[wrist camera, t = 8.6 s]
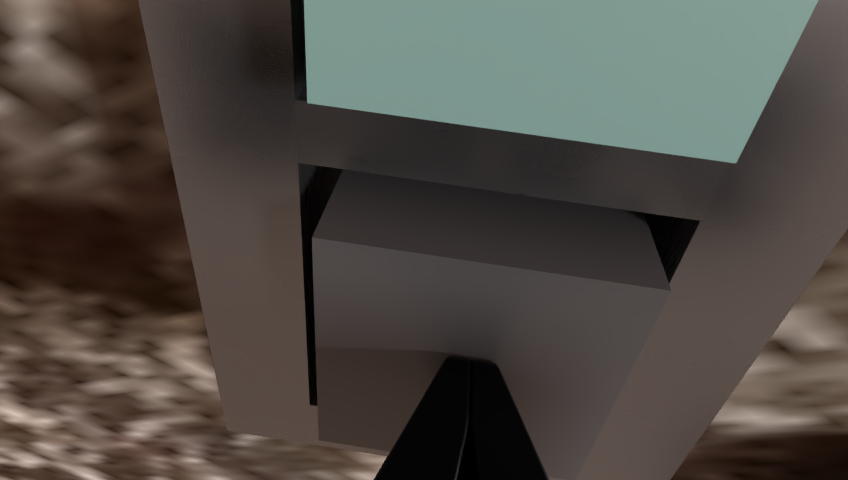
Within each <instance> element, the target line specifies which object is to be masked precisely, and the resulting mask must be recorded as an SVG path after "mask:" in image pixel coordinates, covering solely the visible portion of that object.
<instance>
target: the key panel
mask: <svg viewBox="0 0 848 480" xmlns="http://www.w3.org/2000/svg"><path fill="white" fill-rule="evenodd" d="M138 2H139V7H140V12H141V17H142V22H143V26H144V31H145V36H146V41H147V46H148V51H149V55H150V60H151V65H152V70H153V75H154V80H155V84H156V89H157V94H158V99H159V104H160V108H161V113H162V118H163V123H164V128H165V133H166V137H167V142H168V147H169V152H170V157H171V162H172V166H173V171H174V176H175V181H176V186H177V190H178V195H179V200H180V205H181V210H182V215H183V219H184V224H185V229H186V234H187V239H188V244H189V248H190V253H191V258H192V263H193V268H194V272H195V277H196V282H197V287H198V292H199V297H200V301H201V306H202V311H203V316H204V321H205V325H206V330H207V335H208V340H209V345H210V350H211V354H212V359H213V364H214V369H215V374H216V379H217V383H218V388H219V393H220V398H221V403H222V407H223V412H224V417H225V422H226V427H227V431H233V432H240V433H246V434H252V435H258V436H265V437H271V438H277V439H283V440H290V441H296V442H302V443H308V444H315V445H321V446H327V447H333V448H340V449H346V450H352V451H358V452H364V453H371V454H377V455H383V456H388V455H389V453H390V452H388V451H382V450H376V449H369V448H363V447H357V446H351V445H344V444H338V443H332V442H326V441H319V436H318V406H317V377H316V347H315V317H314V288H313V258H312V236H313V234H314V232H315V229H316V227H317V225H318V223H319V221H320V219H321V216H322V214H323V212H324V210H325V208H326V205H327V203H328V201H329V199H330V197H331V194H332V192H333V190H334V188H335V186H336V184H337V181H338V179H339V177H340V175H341V173H342V170H343V169H345V170H352V171H359V172H366V173H373V174H380V175H387V176H394V177H401V178H408V179H414V180H421V181H428V182H435V183H442V184H449V185H456V186H463V187H470V188H477V189H484V190H491V191H498V192H505V193H511V194H518V195H525V196H532V197H539V198H546V199H553V200H560V201H567V202H574V203H581V204H588V205H595V206H602V207H608V208H615V209H622V210H629V211H636V212H643V213H644V215H645V217H646V220H647V223H648V226H649V229H650V232H651V234H652V237H653V240H654V243H655V246H656V248H657V251H658V254H659V257H660V260H661V263H662V265H663V268H664V271H665V274H666V277H667V279H668V282H669V285H670V288H671V293H670V295H669V297H668V299H667V301H666V303H665V305H664V307H663V309H662V311H661V313H660V315H659V317H658V319H657V321H656V323H655V325H654V327H653V329H652V331H651V333H650V335H649V337H648V338H647V340H646V342H645V344H644V346H643V348H642V350H641V352H640V354H639V356H638V358H637V360H636V362H635V364H634V366H633V368H632V370H631V372H630V374H629V376H628V378H627V380H626V382H625V384H624V386H623V388H622V390H621V392H620V394H619V396H618V398H617V400H616V402H615V404H614V406H613V408H612V410H611V412H610V414H609V416H608V418H607V420H606V422H605V424H604V425H603V427H602V429H601V431H600V433H599V435H598V437H597V439H596V441H595V443H594V445H593V447H592V449H591V451H590V453H589V455H588V457H587V459H586V461H585V463H584V465H583V467H582V469H581V471H580V473H579V475H578V477H577V479H576V480H671V478H672V477H673V476H674V474H675V473H676V471H677V470H678V468H679V467H680V466H681V464H682V463H683V461H684V460H685V459H686V457H687V456H688V454H689V453H690V451H691V450H692V449H693V447H694V446H695V444H696V443H697V441H698V440H699V439H700V437H701V436H702V434H703V433H704V432H705V430H706V429H707V427H708V426H709V424H710V423H711V422H712V420H713V419H714V417H715V416H716V415H717V413H718V412H719V410H720V409H721V407H722V406H723V405H724V403H725V402H726V400H727V399H728V397H729V396H730V395H731V393H732V392H733V390H734V389H735V388H736V386H737V385H738V383H739V382H740V380H741V379H742V378H743V376H744V375H745V373H746V372H747V371H748V369H749V368H750V366H751V365H752V363H753V362H754V361H755V359H756V358H757V356H758V355H759V353H760V352H761V351H762V349H763V348H764V346H765V345H766V344H767V342H768V341H769V339H770V338H771V336H772V335H773V334H774V332H775V331H776V329H777V328H778V327H779V325H780V324H781V322H782V321H783V319H784V318H785V317H786V315H787V314H788V312H789V311H790V310H791V308H792V307H793V305H794V304H795V302H796V301H797V300H798V298H799V297H800V295H801V294H802V292H803V291H804V290H805V288H806V287H807V285H808V284H809V283H810V281H811V280H812V278H813V277H814V275H815V274H816V273H817V271H818V270H819V268H820V267H821V266H822V264H823V263H824V261H825V260H826V258H827V257H828V256H829V254H830V253H831V251H832V250H833V248H834V247H835V246H836V244H837V243H838V241H839V240H840V239H841V237H842V236H843V234H844V233H845V231H846V230H847V229H848V0H818V2H817V4H816V6H815V8H814V10H813V12H812V14H811V16H810V18H809V20H808V22H807V24H806V26H805V28H804V30H803V32H802V34H801V36H800V38H799V40H798V42H797V44H796V46H795V48H794V50H793V52H792V54H791V56H790V58H789V60H788V62H787V64H786V66H785V68H784V70H783V72H782V74H781V76H780V77H779V79H778V81H777V83H776V85H775V87H774V89H773V91H772V93H771V95H770V97H769V99H768V101H767V103H766V105H765V107H764V109H763V111H762V113H761V115H760V117H759V119H758V121H757V123H756V125H755V127H754V129H753V131H752V133H751V135H750V137H749V139H748V141H747V143H746V145H745V147H744V149H743V151H742V153H741V155H740V157H739V159H738V161H737V163H729V162H722V161H715V160H708V159H701V158H693V157H686V156H679V155H672V154H665V153H658V152H651V151H644V150H637V149H630V148H623V147H615V146H608V145H601V144H594V143H587V142H580V141H573V140H566V139H559V138H552V137H544V136H537V135H530V134H523V133H516V132H509V131H502V130H495V129H488V128H481V127H473V126H466V125H459V124H452V123H445V122H438V121H431V120H424V119H417V118H410V117H402V116H395V115H388V114H381V113H374V112H367V111H360V110H353V109H346V108H339V107H331V106H324V105H317V104H310V103H307V79H306V50H305V20H304V0H138ZM548 478H549V480H563V479H557V478H551V477H548Z"/></svg>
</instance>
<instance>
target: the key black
mask: <svg viewBox="0 0 848 480" xmlns="http://www.w3.org/2000/svg"><path fill="white" fill-rule="evenodd" d="M312 258H313V288H314V317H315V347H316V377H317V406H318V436H319V441H326V442H332V443H338V444H344V445H351V446H357V447H363V448H369V449H376V450H382V451H388V452H390V451H391V450H392V448H393V446H394V445H395V443H396V441H397V439H398V438H399V436H400V434H401V433H402V431H403V429H404V428H405V426H406V424H407V422H408V421H409V419H410V417H411V416H412V414H413V412H414V411H415V409H416V407H417V405H418V404H419V402H420V400H421V399H422V397H423V395H424V394H425V392H426V390H427V389H428V387H429V385H430V383H431V382H432V380H433V378H434V377H435V375H436V373H437V372H438V370H439V368H440V366H441V365H442V363H443V361H444V360H445V358H447V357H448V356H453V357H460V358H466V359H469V360H470V361H471V363H472V362H473V361H474V360H479V361H486V362H492V363H495V364H496V365H498V367H499V369H500V371H501V373H502V375H503V378H504V380H505V382H506V384H507V386H508V389H509V391H510V393H511V395H512V398H513V400H514V402H515V404H516V407H517V409H518V411H519V413H520V415H521V418H522V420H523V422H524V424H525V427H526V429H527V431H528V433H529V435H530V438H531V440H532V442H533V444H534V447H535V449H536V451H537V453H538V456H539V458H540V460H541V462H542V464H543V467H544V469H545V471H546V473H547V476H548V477H551V478H557V479H563V480H576V479H577V477H578V475H579V473H580V471H581V469H582V467H583V465H584V463H585V461H586V459H587V457H588V455H589V453H590V451H591V449H592V447H593V445H594V443H595V441H596V439H597V437H598V435H599V433H600V431H601V429H602V427H603V425H604V424H605V422H606V420H607V418H608V416H609V414H610V412H611V410H612V408H613V406H614V404H615V402H616V400H617V398H618V396H619V394H620V392H621V390H622V388H623V386H624V384H625V382H626V380H627V378H628V376H629V374H630V372H631V370H632V368H633V366H634V364H635V362H636V360H637V358H638V356H639V354H640V352H641V350H642V348H643V346H644V344H645V342H646V340H647V338H648V337H649V335H650V333H651V331H652V329H653V327H654V325H655V323H656V321H657V319H658V317H659V315H660V313H661V311H662V309H663V307H664V305H665V303H666V301H667V299H668V297H669V295H670V293H671V288H670V285H669V282H668V279H667V277H666V274H665V271H664V268H663V265H662V263H661V260H660V257H659V254H658V251H657V248H656V246H655V243H654V240H653V237H652V234H651V232H650V229H649V226H648V223H647V220H646V217H645V215H644V213H643V212H636V211H629V210H622V209H615V208H608V207H602V206H595V205H588V204H581V203H574V202H567V201H560V200H553V199H546V198H539V197H532V196H525V195H518V194H511V193H505V192H498V191H491V190H484V189H477V188H470V187H463V186H456V185H449V184H442V183H435V182H428V181H421V180H414V179H408V178H401V177H394V176H387V175H380V174H373V173H366V172H359V171H352V170H345V169H343V170H342V173H341V175H340V177H339V179H338V181H337V184H336V186H335V188H334V190H333V192H332V194H331V197H330V199H329V201H328V203H327V205H326V208H325V210H324V212H323V214H322V216H321V219H320V221H319V223H318V225H317V227H316V229H315V232H314V234H313V236H312Z"/></svg>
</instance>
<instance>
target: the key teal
mask: <svg viewBox="0 0 848 480" xmlns="http://www.w3.org/2000/svg"><path fill="white" fill-rule="evenodd" d="M817 2H818V0H304V20H305V50H306V79H307V103H310V104H317V105H324V106H331V107H339V108H346V109H353V110H360V111H367V112H374V113H381V114H388V115H395V116H402V117H410V118H417V119H424V120H431V121H438V122H445V123H452V124H459V125H466V126H473V127H481V128H488V129H495V130H502V131H509V132H516V133H523V134H530V135H537V136H544V137H552V138H559V139H566V140H573V141H580V142H587V143H594V144H601V145H608V146H615V147H623V148H630V149H637V150H644V151H651V152H658V153H665V154H672V155H679V156H686V157H693V158H701V159H708V160H715V161H722V162H729V163H737V161H738V159H739V157H740V155H741V153H742V151H743V149H744V147H745V145H746V143H747V141H748V139H749V137H750V135H751V133H752V131H753V129H754V127H755V125H756V123H757V121H758V119H759V117H760V115H761V113H762V111H763V109H764V107H765V105H766V103H767V101H768V99H769V97H770V95H771V93H772V91H773V89H774V87H775V85H776V83H777V81H778V79H779V77H780V76H781V74H782V72H783V70H784V68H785V66H786V64H787V62H788V60H789V58H790V56H791V54H792V52H793V50H794V48H795V46H796V44H797V42H798V40H799V38H800V36H801V34H802V32H803V30H804V28H805V26H806V24H807V22H808V20H809V18H810V16H811V14H812V12H813V10H814V8H815V6H816V4H817Z"/></svg>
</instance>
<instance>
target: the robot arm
mask: <svg viewBox="0 0 848 480" xmlns="http://www.w3.org/2000/svg"><path fill="white" fill-rule="evenodd" d="M374 480H549V478H548V476H547V473H546V471H545V469H544V467H543V464H542V462H541V460H540V458H539V456H538V453H537V451H536V449H535V447H534V444H533V442H532V440H531V438H530V435H529V433H528V431H527V429H526V427H525V424H524V422H523V420H522V418H521V415H520V413H519V411H518V409H517V407H516V404H515V402H514V400H513V398H512V395H511V393H510V391H509V389H508V386H507V384H506V382H505V380H504V378H503V375H502V373H501V371H500V369H499V367H498V365H496V364H495V363H492V362H486V361H479V360H474V361H473V362H472V363H471V361H470V360H469V359H466V358H460V357H453V356H448V357H447V358H445V360H444V361H443V363H442V365H441V366H440V368H439V370H438V372H437V373H436V375H435V377H434V378H433V380H432V382H431V383H430V385H429V387H428V389H427V390H426V392H425V394H424V395H423V397H422V399H421V400H420V402H419V404H418V405H417V407H416V409H415V411H414V412H413V414H412V416H411V417H410V419H409V421H408V422H407V424H406V426H405V428H404V429H403V431H402V433H401V434H400V436H399V438H398V439H397V441H396V443H395V445H394V446H393V448H392V450H391V451H390V453H389V455H388V456H387V458H386V460H385V461H384V463H383V465H382V467H381V468H380V470H379V472H378V473H377V475H376V477H375V478H374Z"/></svg>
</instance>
